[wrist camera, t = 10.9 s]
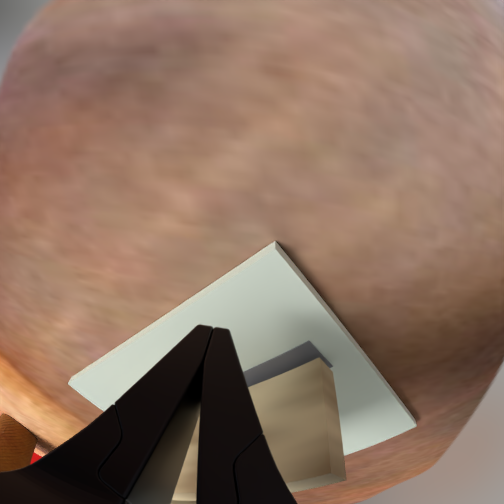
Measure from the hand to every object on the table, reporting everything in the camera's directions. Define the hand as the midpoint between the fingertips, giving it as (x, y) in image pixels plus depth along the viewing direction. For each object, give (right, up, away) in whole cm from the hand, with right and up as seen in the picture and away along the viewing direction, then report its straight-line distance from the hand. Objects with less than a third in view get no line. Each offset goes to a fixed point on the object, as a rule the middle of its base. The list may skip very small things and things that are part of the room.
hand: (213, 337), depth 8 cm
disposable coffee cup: (-31, -22, +18) cm, 42 cm away
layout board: (+1, -7, +8) cm, 11 cm away
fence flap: (-1, -5, +6) cm, 8 cm away
